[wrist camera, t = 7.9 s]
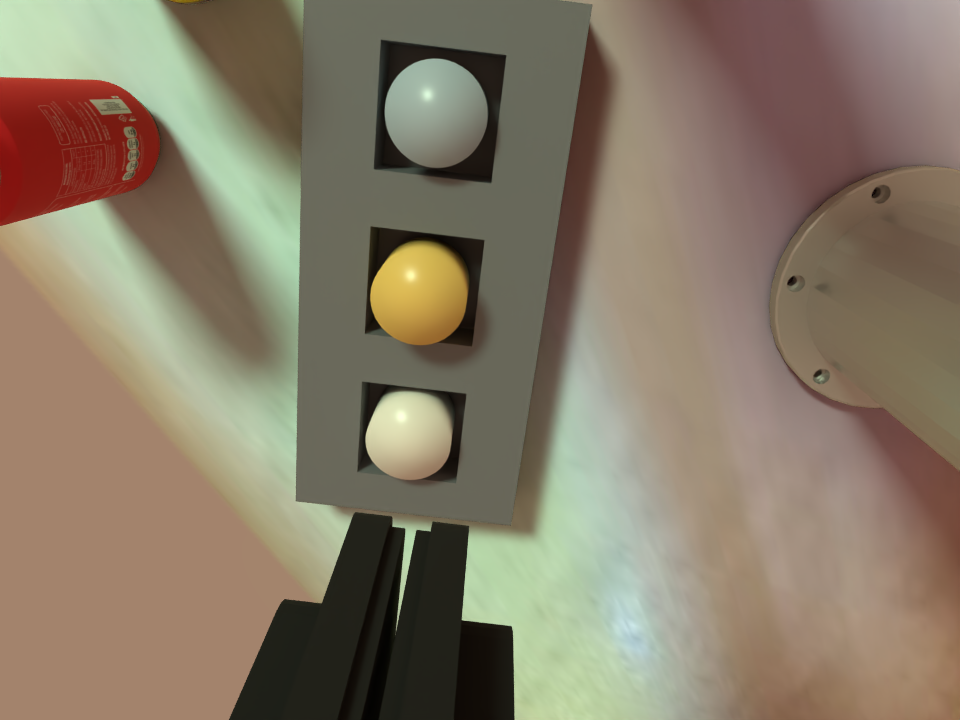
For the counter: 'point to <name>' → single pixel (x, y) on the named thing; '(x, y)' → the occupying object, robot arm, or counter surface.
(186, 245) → the counter surface
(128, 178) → the beverage can
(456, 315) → the amber button
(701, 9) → the counter surface
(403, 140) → the slate button
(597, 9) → the counter surface
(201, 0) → the supplement bottle
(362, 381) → the panel
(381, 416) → the ivory button
